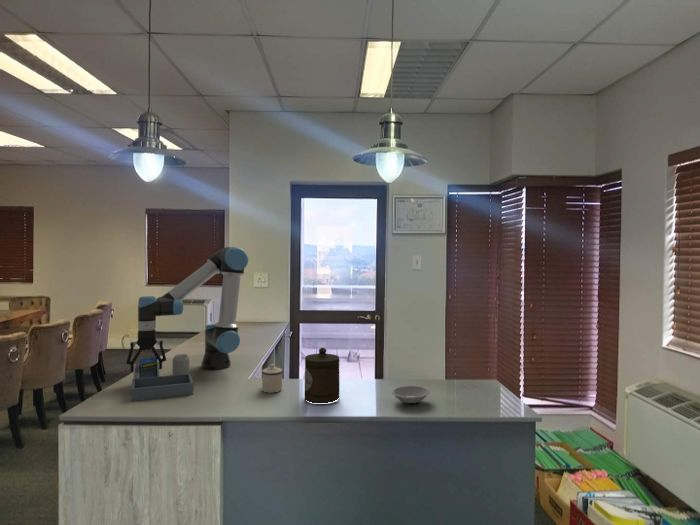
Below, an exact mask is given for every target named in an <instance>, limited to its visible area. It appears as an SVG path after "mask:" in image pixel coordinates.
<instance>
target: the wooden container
mask: <svg viewBox="0 0 700 525" xmlns="http://www.w3.org/2000/svg"><path fill="white" fill-rule="evenodd" d="M338 398H339V399H340V357H339V356H338V355H336V354H333V353H327V348H325V347H320V348H319V349H318V353H311V354H308V355H306V356H305V357H304V401H305V400H307V401H309V402H312V403H328V402H333V401H335V400H337V399H338Z"/></svg>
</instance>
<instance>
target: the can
mask: <svg viewBox="0 0 700 525" xmlns="http://www.w3.org/2000/svg"><path fill="white" fill-rule="evenodd" d="M179 374H190V357H189V355H188V354H186V353H185V354H184V353H183V354H182V353H181V354H175V355H174V357H173V358H172V375H179Z"/></svg>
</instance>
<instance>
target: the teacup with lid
mask: <svg viewBox="0 0 700 525" xmlns="http://www.w3.org/2000/svg"><path fill="white" fill-rule="evenodd" d="M261 378H262V382H261V384H262V386H261V388H262V389H261V391H262V390H263V391H264V393H265V392H277V391H280V390H281V389H283V385H282V384H283V369H282V368H279V367H277V366H275V364H274V363H273V364H270V365H269V366H268V367H266V368H263V370H262V371H261ZM263 391H262V392H263ZM281 391H282V390H281ZM281 391H280V392H281ZM277 393H278V392H277Z"/></svg>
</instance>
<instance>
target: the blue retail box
mask: <svg viewBox="0 0 700 525" xmlns="http://www.w3.org/2000/svg"><path fill="white" fill-rule="evenodd" d="M157 366H158V359H157V357H156V356H151V357H146V358H141V359H139V365H136V367H135V379H136V378H147V377H157Z"/></svg>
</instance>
